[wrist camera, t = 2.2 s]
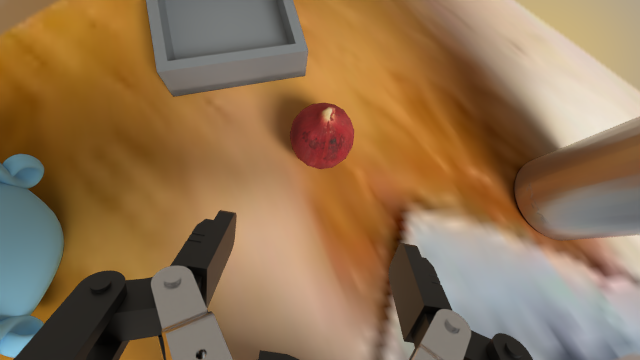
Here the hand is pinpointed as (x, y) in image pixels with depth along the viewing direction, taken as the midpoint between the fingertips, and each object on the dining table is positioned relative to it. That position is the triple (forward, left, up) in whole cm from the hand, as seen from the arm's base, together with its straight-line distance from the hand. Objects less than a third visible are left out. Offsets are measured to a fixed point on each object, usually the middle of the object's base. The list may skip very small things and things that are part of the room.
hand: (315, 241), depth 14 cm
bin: (+2, -25, -14) cm, 29 cm away
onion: (-4, -9, -14) cm, 17 cm away
